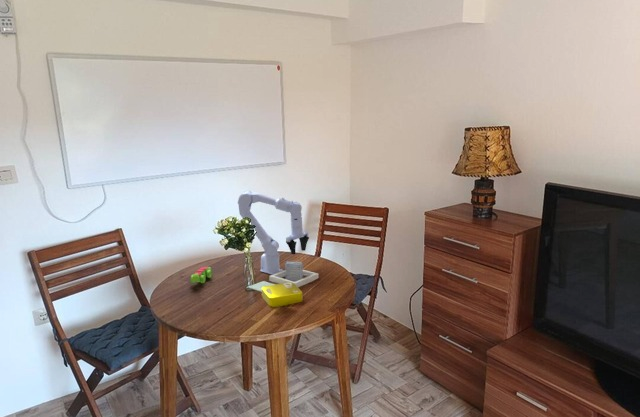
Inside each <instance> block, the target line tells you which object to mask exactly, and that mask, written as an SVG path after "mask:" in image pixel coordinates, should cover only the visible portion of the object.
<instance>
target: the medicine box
mask: <svg viewBox="0 0 640 417" xmlns="http://www.w3.org/2000/svg"><path fill="white" fill-rule="evenodd" d="M303 264H304V262H302V261H290V260H289V261H286V263H285V264H284V270H285V277H284V279H287V280H290V281H294V282H296V281H298V280H301V279H303V278H304V275H303V270H304V267H303Z"/></svg>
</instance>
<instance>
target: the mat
mask: <svg viewBox="0 0 640 417" xmlns="http://www.w3.org/2000/svg"><path fill="white" fill-rule="evenodd" d="M270 285H276V283H273V282H270V281H268V282H267V281H266V280H262V281H260V282H257V283H254V284H252V285H250V286H247V288H248V289H250V290H255V291H256V292H257V291H258V292H259V293H262V287H264V286H270Z"/></svg>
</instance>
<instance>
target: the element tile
mask: <svg viewBox="0 0 640 417" xmlns="http://www.w3.org/2000/svg"><path fill="white" fill-rule="evenodd" d="M261 297H262V298H263V301H265V302H266V304H267V305H268V306H269V307H271V308H277V307H283V306H289V305H291V304H292V305H293V304H297V303H301V302H303V298H304V297H303V291H302V290H301V289H300V287H297V286H296V285H294V284H293V283H291V282H289V283H283V284H278V283H275V285H270V286H264V287H262V292H261Z"/></svg>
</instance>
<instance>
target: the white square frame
mask: <svg viewBox="0 0 640 417" xmlns="http://www.w3.org/2000/svg"><path fill="white" fill-rule="evenodd" d="M304 276H305V277H304ZM268 277H269V281H268V282H270V283H274V284H283V283H289V282H291V283H293V284H294V285H296V286H297V287H298V288H300V287H303V286H305V285H307V284H309V283H312V282H314V281H315V280H318V279H319V273H318V272H317V273H316V272H314V271H313V272H312V271H310V270H305V269H303V279H301V280H298V281H290V280H287V279H285V269H284V270H283V271H281V272H278V273H275V274H270V275H269V276H268Z"/></svg>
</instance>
